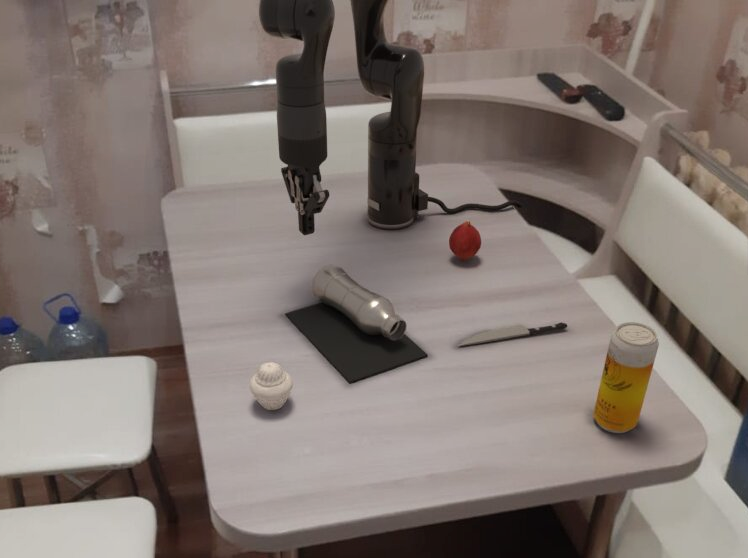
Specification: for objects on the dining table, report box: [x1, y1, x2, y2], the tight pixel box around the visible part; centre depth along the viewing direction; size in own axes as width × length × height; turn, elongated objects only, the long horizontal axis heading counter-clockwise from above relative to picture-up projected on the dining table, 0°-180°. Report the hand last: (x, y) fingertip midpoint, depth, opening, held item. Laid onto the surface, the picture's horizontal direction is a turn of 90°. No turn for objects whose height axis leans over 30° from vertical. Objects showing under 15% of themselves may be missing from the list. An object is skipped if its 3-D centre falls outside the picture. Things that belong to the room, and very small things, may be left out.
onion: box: [448, 219, 482, 261], centre depth 151 cm, size 6×6×8 cm
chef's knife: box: [457, 322, 568, 347], centre depth 133 cm, size 19×1×3 cm
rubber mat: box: [284, 302, 428, 384], centre depth 133 cm, size 14×22×1 cm, turn 30°
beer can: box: [593, 321, 660, 434], centre depth 112 cm, size 6×6×15 cm
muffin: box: [249, 361, 293, 411], centre depth 118 cm, size 6×6×7 cm
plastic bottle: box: [310, 264, 408, 341], centre depth 134 cm, size 6×7×20 cm
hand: (306, 232), depth 137 cm, fingers closed
